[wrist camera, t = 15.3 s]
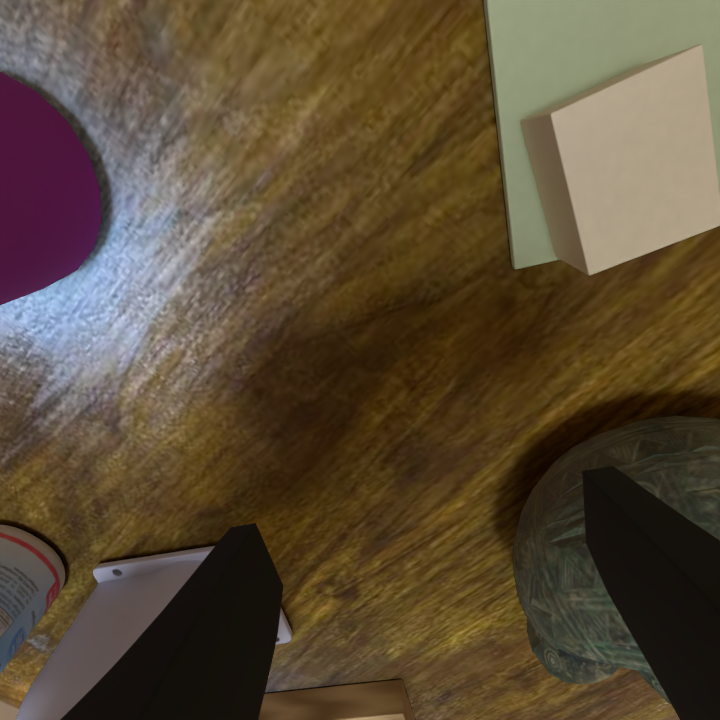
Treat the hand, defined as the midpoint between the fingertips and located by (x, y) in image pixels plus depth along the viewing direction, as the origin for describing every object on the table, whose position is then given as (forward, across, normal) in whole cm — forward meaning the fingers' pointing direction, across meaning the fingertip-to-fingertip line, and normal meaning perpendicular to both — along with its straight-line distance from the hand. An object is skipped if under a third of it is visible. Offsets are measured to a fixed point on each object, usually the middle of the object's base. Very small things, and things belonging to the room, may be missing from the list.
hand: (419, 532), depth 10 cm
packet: (+10, -8, -6) cm, 14 cm away
